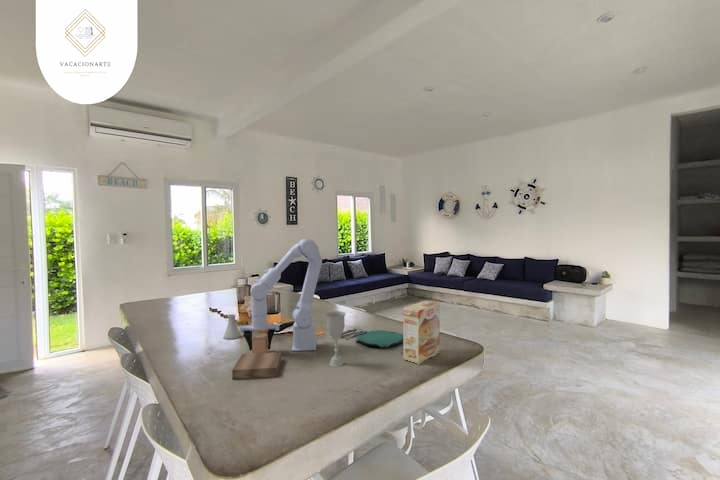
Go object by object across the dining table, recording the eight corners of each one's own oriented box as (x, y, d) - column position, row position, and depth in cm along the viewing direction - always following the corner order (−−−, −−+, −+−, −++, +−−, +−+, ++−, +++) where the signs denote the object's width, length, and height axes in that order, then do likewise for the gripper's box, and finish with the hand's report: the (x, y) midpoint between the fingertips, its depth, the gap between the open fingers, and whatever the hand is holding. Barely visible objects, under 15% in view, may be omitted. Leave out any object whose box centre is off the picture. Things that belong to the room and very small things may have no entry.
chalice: (330, 369, 119) (329, 317, 118) (323, 362, 125) (322, 312, 124) (349, 364, 122) (349, 314, 121) (341, 358, 128) (341, 310, 127)
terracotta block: (267, 350, 137) (267, 335, 137) (265, 355, 132) (265, 340, 132) (254, 351, 137) (254, 336, 136) (252, 356, 132) (251, 340, 131)
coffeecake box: (419, 365, 121) (418, 310, 120) (402, 360, 126) (402, 307, 125) (440, 353, 132) (440, 302, 131) (424, 348, 137) (424, 300, 136)
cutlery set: (386, 353, 133) (386, 347, 133) (330, 339, 152) (330, 333, 152) (413, 340, 148) (413, 335, 148) (359, 328, 167) (359, 324, 167)
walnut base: (281, 360, 127) (281, 352, 127) (276, 376, 113) (276, 367, 113) (242, 362, 126) (242, 354, 126) (232, 379, 112) (232, 370, 112)
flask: (235, 340, 150) (234, 317, 150) (220, 339, 152) (219, 316, 151) (243, 335, 157) (243, 313, 157) (229, 334, 159) (228, 312, 158)
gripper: (279, 311, 138) (280, 344, 139) (242, 312, 137) (243, 346, 137) (277, 315, 131) (278, 351, 132) (238, 317, 130) (239, 353, 130)
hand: (260, 349), depth 134 cm, fingers open, 6 cm apart
